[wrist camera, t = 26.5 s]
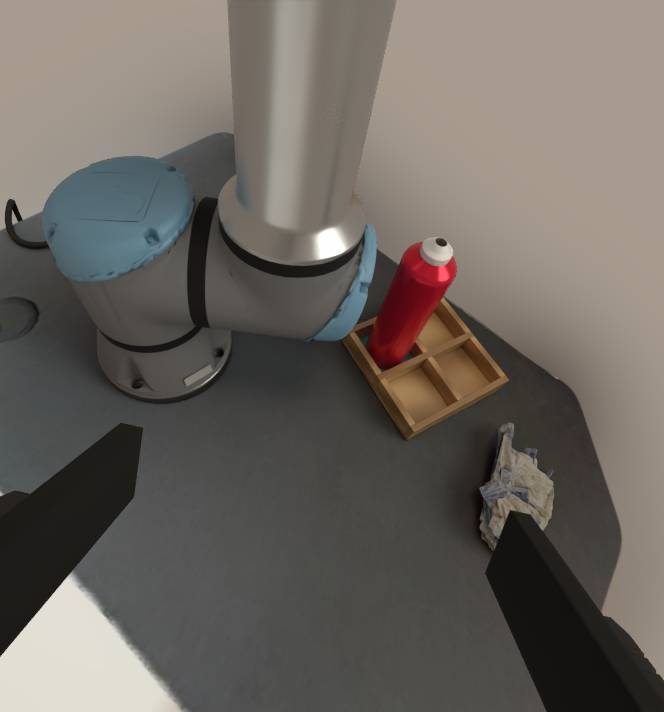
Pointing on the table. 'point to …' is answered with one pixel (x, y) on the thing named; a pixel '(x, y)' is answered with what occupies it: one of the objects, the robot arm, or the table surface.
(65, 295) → the table surface
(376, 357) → the bottle
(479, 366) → the wooden divided tray
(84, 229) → the robot arm
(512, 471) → the crumpled cloth bundle
